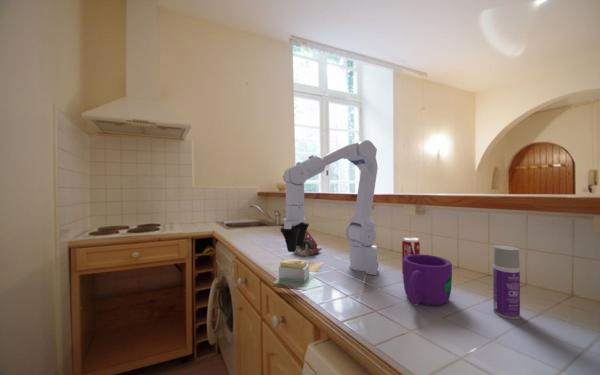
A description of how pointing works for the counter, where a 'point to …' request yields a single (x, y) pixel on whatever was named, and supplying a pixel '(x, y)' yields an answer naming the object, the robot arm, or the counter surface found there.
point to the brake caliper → (308, 246)
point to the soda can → (410, 247)
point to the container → (506, 282)
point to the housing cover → (293, 263)
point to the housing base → (294, 274)
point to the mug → (427, 279)
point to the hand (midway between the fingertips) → (295, 248)
